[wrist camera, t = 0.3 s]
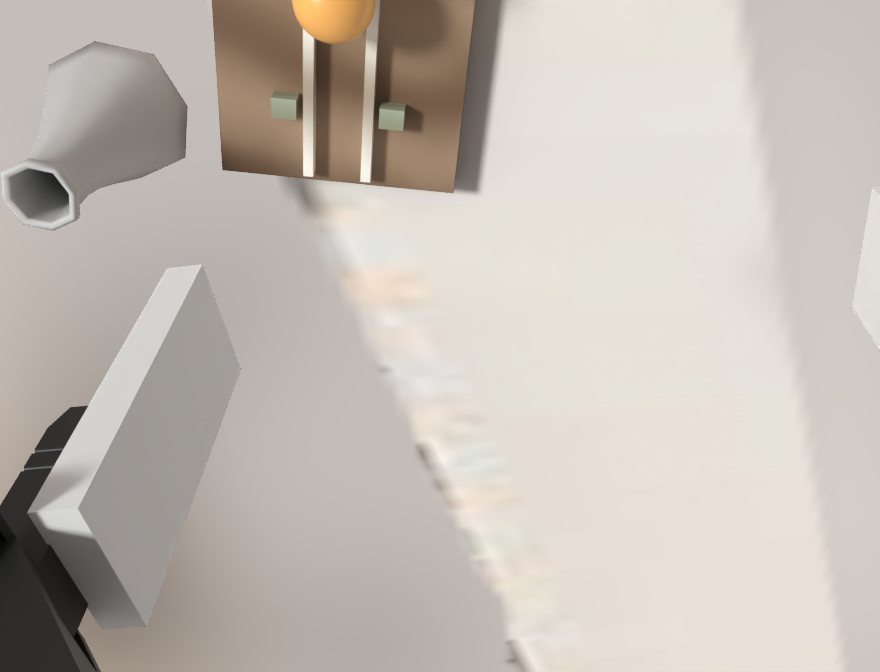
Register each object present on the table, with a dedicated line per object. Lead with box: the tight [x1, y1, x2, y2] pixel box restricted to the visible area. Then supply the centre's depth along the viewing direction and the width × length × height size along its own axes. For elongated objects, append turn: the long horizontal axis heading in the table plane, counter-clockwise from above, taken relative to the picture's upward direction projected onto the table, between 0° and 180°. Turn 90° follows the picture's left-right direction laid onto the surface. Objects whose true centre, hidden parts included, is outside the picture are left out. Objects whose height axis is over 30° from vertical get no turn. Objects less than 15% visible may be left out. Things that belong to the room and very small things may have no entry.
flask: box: [1, 41, 187, 230], centre depth 39 cm, size 7×7×10 cm
